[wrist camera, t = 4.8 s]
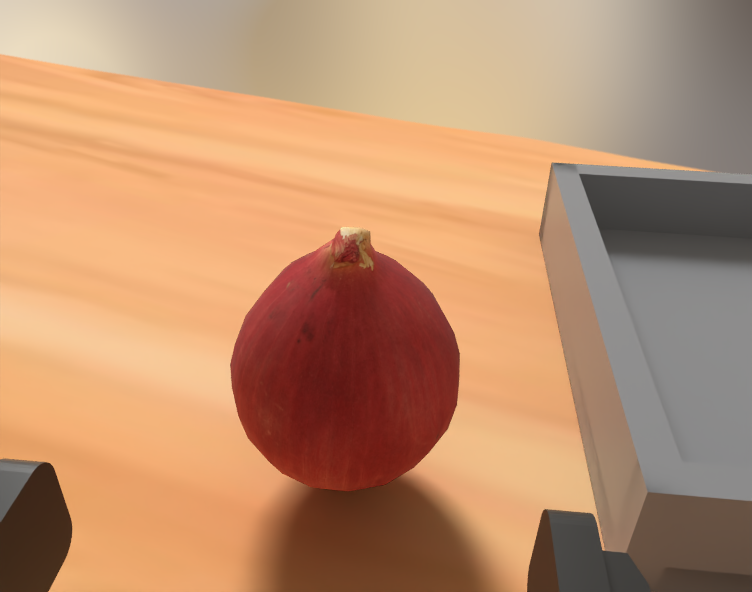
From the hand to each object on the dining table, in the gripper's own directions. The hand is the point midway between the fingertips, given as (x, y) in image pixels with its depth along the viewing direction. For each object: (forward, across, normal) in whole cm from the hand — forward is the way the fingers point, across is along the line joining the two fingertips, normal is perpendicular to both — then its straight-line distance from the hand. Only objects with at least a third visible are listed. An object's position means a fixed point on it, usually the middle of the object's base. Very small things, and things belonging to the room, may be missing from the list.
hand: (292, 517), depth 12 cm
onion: (+6, 0, +6) cm, 9 cm away
